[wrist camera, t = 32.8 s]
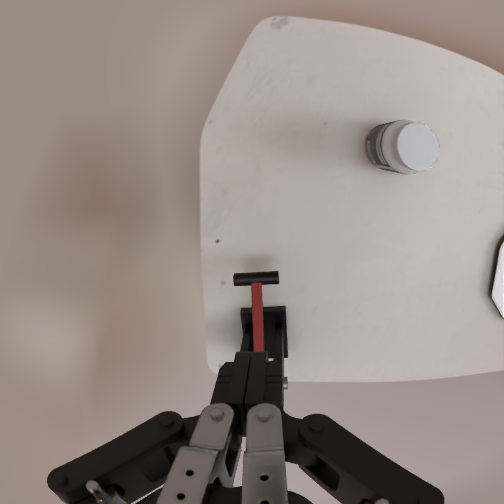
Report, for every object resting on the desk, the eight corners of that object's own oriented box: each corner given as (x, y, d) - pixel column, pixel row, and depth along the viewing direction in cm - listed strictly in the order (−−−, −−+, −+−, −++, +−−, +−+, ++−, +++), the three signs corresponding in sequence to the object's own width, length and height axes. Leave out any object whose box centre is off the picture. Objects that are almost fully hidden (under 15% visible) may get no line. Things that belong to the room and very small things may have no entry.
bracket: (241, 308, 42) (226, 367, 29) (285, 306, 41) (286, 366, 29) (247, 354, 44) (236, 417, 32) (287, 352, 43) (288, 417, 31)
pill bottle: (413, 140, 32) (452, 139, 23) (394, 178, 34) (429, 189, 25) (375, 115, 32) (407, 105, 23) (356, 154, 34) (382, 156, 24)
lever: (236, 274, 36) (232, 272, 34) (278, 272, 36) (277, 269, 33) (240, 392, 33) (237, 398, 31) (283, 392, 33) (283, 397, 30)
